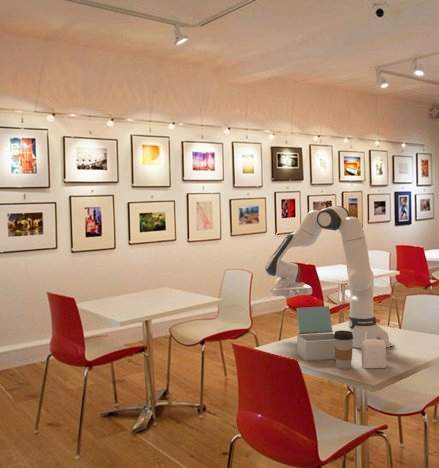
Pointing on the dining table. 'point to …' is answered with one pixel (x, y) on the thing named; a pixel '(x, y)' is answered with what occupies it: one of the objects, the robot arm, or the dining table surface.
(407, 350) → the dining table surface
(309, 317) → the cover
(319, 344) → the white box
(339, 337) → the coffee cup
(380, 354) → the photo printer
